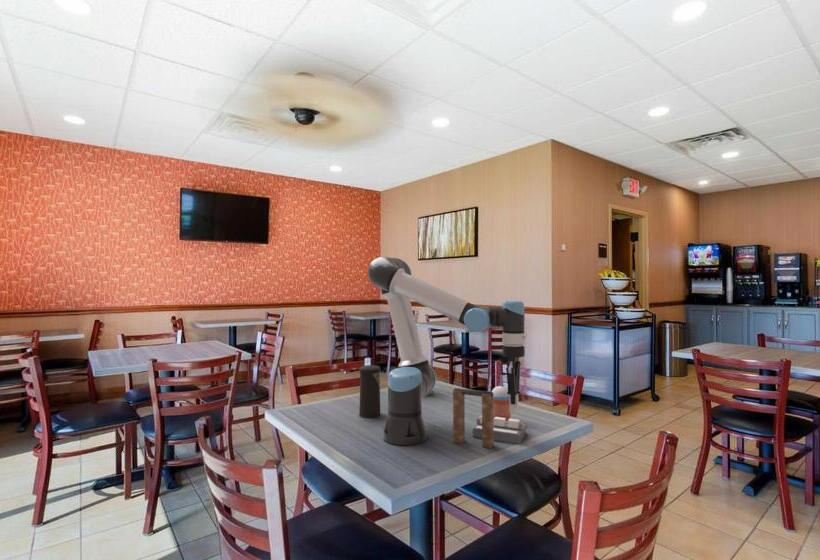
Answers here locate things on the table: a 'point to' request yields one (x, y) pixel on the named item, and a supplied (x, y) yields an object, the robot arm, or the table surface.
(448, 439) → the table surface
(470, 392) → the dark grey rod
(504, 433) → the breaker panel
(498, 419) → the breaker paddles
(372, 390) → the container
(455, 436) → the posts
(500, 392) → the cup with straw
